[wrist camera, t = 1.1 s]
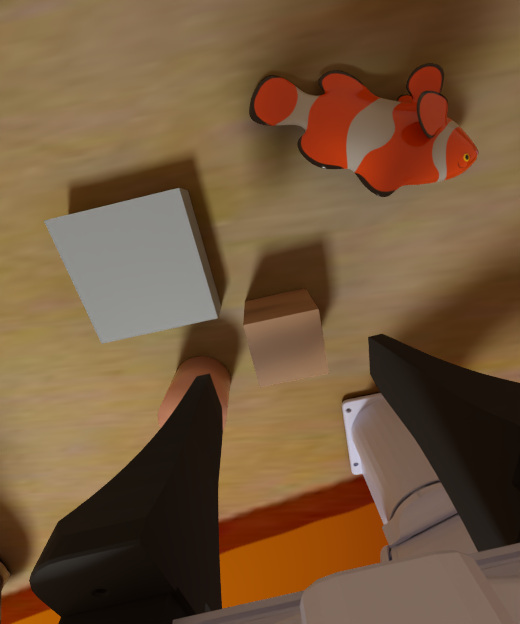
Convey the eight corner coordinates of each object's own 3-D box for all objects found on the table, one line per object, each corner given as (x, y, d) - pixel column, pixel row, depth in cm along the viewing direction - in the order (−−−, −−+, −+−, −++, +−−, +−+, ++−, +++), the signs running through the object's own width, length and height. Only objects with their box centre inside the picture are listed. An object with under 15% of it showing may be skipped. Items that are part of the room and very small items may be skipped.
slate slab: (221, 305, 23) (217, 318, 21) (119, 327, 24) (101, 343, 21) (189, 190, 20) (179, 187, 18) (71, 219, 21) (43, 220, 18)
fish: (529, 121, 15) (406, 249, 17) (465, 140, 19) (374, 240, 22) (360, -109, 12) (236, 84, 14) (330, -23, 16) (240, 113, 18)
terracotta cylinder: (236, 397, 26) (233, 438, 22) (185, 407, 27) (170, 450, 22) (222, 351, 25) (215, 384, 20) (167, 362, 25) (148, 398, 20)
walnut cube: (314, 341, 25) (328, 373, 20) (258, 353, 25) (259, 387, 20) (305, 287, 23) (318, 308, 18) (245, 301, 23) (243, 325, 18)
